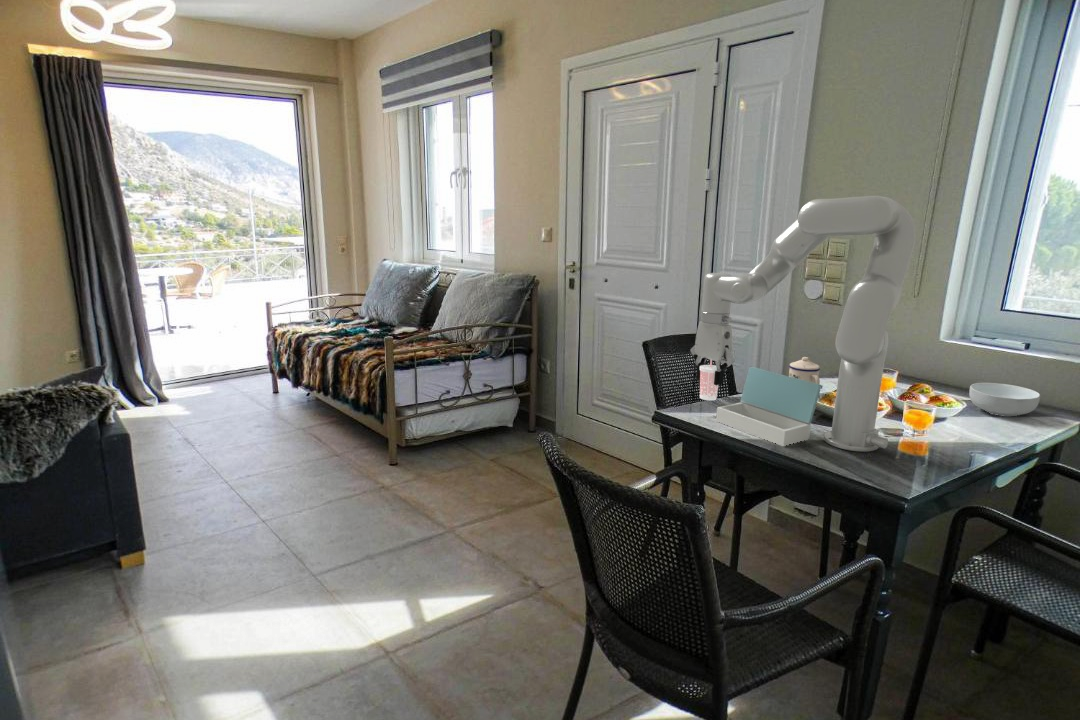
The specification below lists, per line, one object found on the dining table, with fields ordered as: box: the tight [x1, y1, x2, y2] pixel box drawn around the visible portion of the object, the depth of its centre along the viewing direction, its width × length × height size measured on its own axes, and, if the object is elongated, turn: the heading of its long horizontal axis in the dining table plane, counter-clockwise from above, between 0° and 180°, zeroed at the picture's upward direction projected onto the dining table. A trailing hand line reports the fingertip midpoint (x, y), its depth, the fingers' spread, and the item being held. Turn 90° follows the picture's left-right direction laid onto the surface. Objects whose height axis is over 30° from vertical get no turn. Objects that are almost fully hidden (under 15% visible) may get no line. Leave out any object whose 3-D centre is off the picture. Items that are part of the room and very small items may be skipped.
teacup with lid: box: [788, 356, 821, 385], centre depth 202 cm, size 12×9×12 cm
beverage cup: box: [699, 359, 719, 401], centre depth 180 cm, size 6×6×14 cm
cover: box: [739, 365, 824, 425], centre depth 171 cm, size 22×10×1 cm
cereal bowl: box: [968, 382, 1041, 417], centre depth 187 cm, size 17×17×7 cm
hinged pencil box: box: [715, 402, 812, 447], centre depth 170 cm, size 22×10×4 cm, turn 32°
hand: (709, 380), depth 181 cm, fingers closed on beverage cup, 6 cm apart
